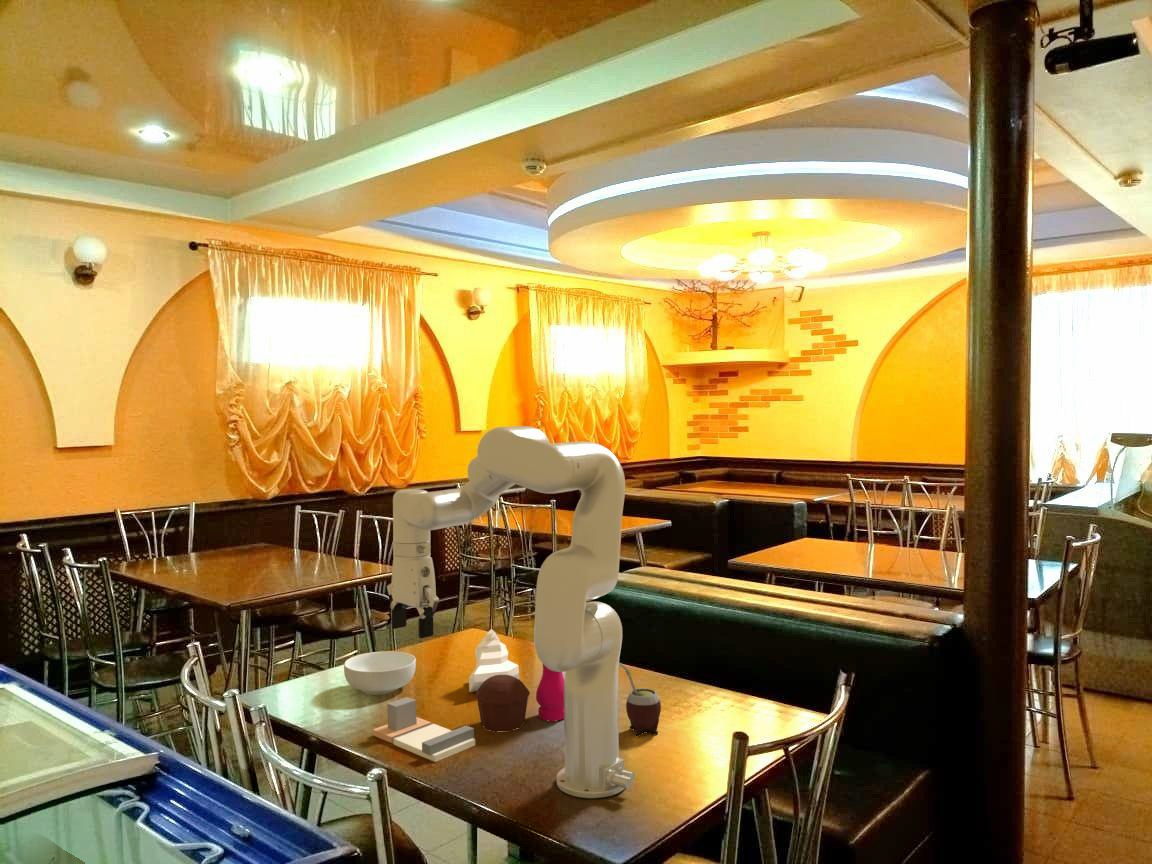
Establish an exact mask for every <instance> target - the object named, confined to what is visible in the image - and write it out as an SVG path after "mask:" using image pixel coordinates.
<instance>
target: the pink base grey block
mask: <svg viewBox="0 0 1152 864" xmlns="http://www.w3.org/2000/svg"><path fill="white" fill-rule="evenodd" d="M386 707H387V710H386V711H387V712H386V713H387V724H384V725H381V726H379V727H375V728H373V729H372V736H373V737H376V738H378V739H381V740H383V741H386V742H388V743H390V744H393V738H394V737H397V736H400V735H402V734H405V733H408V732H410V731H413V730H416V729H418V728H421V727H424V726H426V725H429V724H432V722H431V721H429V720H426V719H423V718H421V717H418V716H417V699H414V698H411V697H408V696H405V697H402V698H400V699H397V700H394V701H391V702H387V704H386Z"/></svg>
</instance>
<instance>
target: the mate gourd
mask: <svg viewBox="0 0 1152 864" xmlns="http://www.w3.org/2000/svg"><path fill="white" fill-rule="evenodd" d="M619 667H622V668H623V669H624V671H625V673H626V675H627V676H628V679H629V682H630V685H631V688H632V690H630V692H629V694H628V696H627V698H626V703H625V709H626V710H625V711H626V714H627V717H628V719H629V722H630V726H629V729H630V730H631V729H634V730H633V731H635V730H636V731H635V732H636V733H634V736H635V735H636V736H639V735H640V736H642V735H643V734H645V733H644V732H647V733H646V734H649V733H651V734H650V735H653V734H656V735H655V736H657V735H658V734H659V732H658V727H659V722H660V715H661V710H662V705H661V703H662V702H661V698H660V696H659V695H658V693H657V692H656V691H655V690H653V689H650V688H636V686H635V683H634V681H633V678H632V676H631V675H632V674H631V671H630V669H629V668H628V667H627V666H626V665H624V664H623V663H621V662H619ZM642 733H643V734H642ZM641 734H642V735H641ZM636 736H635V737H636ZM640 736H639V737H640Z"/></svg>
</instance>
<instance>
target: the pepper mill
mask: <svg viewBox="0 0 1152 864" xmlns="http://www.w3.org/2000/svg"><path fill="white" fill-rule="evenodd" d="M564 678H565V676H564V675H563V672H555V671H552V670H550V669H548V668H547V667H545V666H544V665H543V664H542V675H541V678H540V680H539V681H540V682H539V683H538V686H537V689H536V692H535V693H536V694H535V700H536V702H537V703H538V705H539V707H538V718H539V719H540V718H541V719H540V720H542V719H543V720H542V721H544V720H549V721H548V722H556V721H555V720H560V721H562V720H561V719H563V720H564Z"/></svg>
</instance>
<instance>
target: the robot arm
mask: <svg viewBox="0 0 1152 864" xmlns="http://www.w3.org/2000/svg"><path fill="white" fill-rule="evenodd" d="M476 454H477V456H475V457H473V458H472V459H471V460H470V462H469V464H468V466H467V478H468V480H469V481H468V482H466V483H465V484H463V485H462V486H460V487H458V488H457V487H456V488H451V489H449V488H448V489H444V490H435V491H427V490H424V489H418V488H414V489H413V488H409V489H408V488H407V489H400V490H397V491H395V493H394V494H393V498H392V525H393V526H392V528H393V529H392V530H393V531H392V532H393V533H392V534H393V535H392V537H393V539H392V540H393V543H392V544H393V546H392V547H393V549H392V552H393V553H392V555H393V556H392V557H393V560H392V567H391V568H392V569H391V583H389V584H387V586H386V589H387V593H388V600H389V602H390V609H391V628H392V629H393V630H395V629H400V628H405V627H407V607H406V606H408V607H412V608H414V609H415V608H416V610H417V611H418V614H419V617H420V618H418V638H420V639H425V638H428V637H429V638H430V637H433V635H434V617H435V616H436V612H437V610H438V605H439V601H440V598H439V597H438V596H437V592H436V591H437V589H436V588H437V587H436V575H435V568H434V567H435V566H434V561H433V557H431V554H432V553H431V531H434V530H435V531H436V530H440V529H445V528H451V527H457V526H463V525H466V524H468V523H471V522H472V521H474V520H476V519H477V518H480V517H481V516H482V515H483V514H485V513H487V512H488V511H489V510H491V509H492V508H493V507H494V506H495V505H496V503H497V502H498V500H499V497H500V495H501V494H503V493H504V492H506V491H507V490H509V489H510V488H512V487H513V486H514V485H518V486H520V487H523V488H525V489H529V490H532V491H534V492H538V493H541V494H542V493H543V494H548V495H549V494H559V493H566V492H573V491H577V490H579V492H580V493H581V495H580V499H579V500H578V503H577V505H576V507H575V509H574V513H573V517H572V518H573V519H572V534H571V540H570V545H569V547H566V548H561V549H559V550H557V551H554V552H552V553H551V554H550V555H548V556H547V557H546V558H545V560H544V561H543V563H542V564H541V566H540V569H539V572H538V575H537V578H536V579H537V580H536V590H535V592H536V593H535V605H534V607H535V608H534V627H533V642H534V648H535V653H536V655H537V657H538V660H539V661H540V662H541V664H542V666H543V665H544V666H545V667H547V668H548V669H550V670H552V671H555V672H562V673H564V719H563V722H564V723H563V725H564V729H563V730H564V731H563V732H564V767H563V768H562V769H560V770H559V771H558V772H557V774H556V779H555V780H556V786H557V788H559V790H560V791H562V792H563V793H564V794H567V795H570V796H573V797H577V798H583V799H601V798H602V799H603V798H607V797H611V796H615V795H617V794H619V793H621V792H622V791H623V790H627V791H630V790H631V789H632V787H633V785H634V781H635V779H636V773H635V772H633V771H630V770H626V769H625V760H624V758H621V757H620V744H619V737H620V736H619V735H620V734H619V733H620V732H619V667H620V665H619V663H620V656H621V649H622V643H623V626H622V625H623V624H622V622H621V619H620V616H619V614H618V613H617V612H616V610H615V609H614V608H612V607H611V605H609V604H607V603H604V602H601V601H593V600H595V599H598V598H600V597H604V596H605V595H607V594H609V593H611V592H612V591H613V590H614V589H615V588H616V586H617V583H618V579H619V571H620V558H621V540H622V522H623V521H622V519H623V511H624V503H625V494H626V480H625V479H626V477H625V473H624V469H623V467H622V465H621V463H620V461H619V460H618V458H617V457H616V456H615V454H614V453H613V452H612V451H611V450H609V449H608V448H607V447H605V446H603V445H602V444H599V443H596V442H592V441H567V442H555V443H554V442H553V443H550V440H549V438H548V436H547V435H546V434H545V433H544V432H543V431H542V430H540V429H538V428H536V427H534V426H528V425H519V426H517V425H516V426H515V425H514V426H512V425H511V426H498V427H494V428H492V429H490V430H488V431H487V432H485V434H484V435H482V437H481V438H480V440H479V443H478V445H477V453H476ZM424 608H425V610H424Z"/></svg>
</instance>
